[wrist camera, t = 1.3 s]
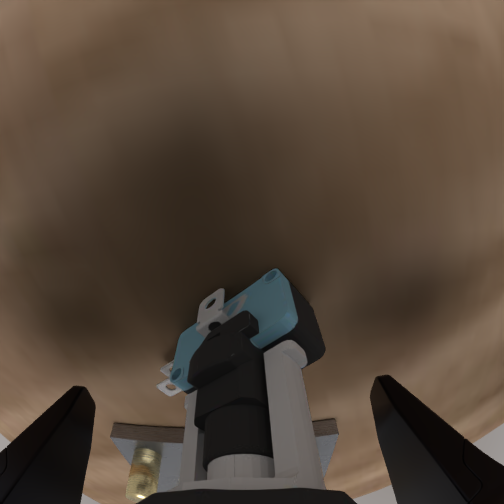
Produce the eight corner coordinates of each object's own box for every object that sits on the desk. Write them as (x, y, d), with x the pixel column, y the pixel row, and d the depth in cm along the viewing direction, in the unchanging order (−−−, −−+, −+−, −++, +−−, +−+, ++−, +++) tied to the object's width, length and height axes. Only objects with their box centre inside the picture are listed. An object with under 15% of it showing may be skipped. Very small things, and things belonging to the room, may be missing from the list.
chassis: (335, 418, 15) (350, 482, 11) (310, 500, 21) (315, 538, 18) (113, 423, 15) (98, 482, 11) (172, 503, 21) (168, 541, 17)
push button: (210, 395, 14) (202, 609, 5) (118, 324, 12) (36, 573, 3) (338, 322, 12) (424, 581, 3) (252, 219, 10) (294, 637, 1)
